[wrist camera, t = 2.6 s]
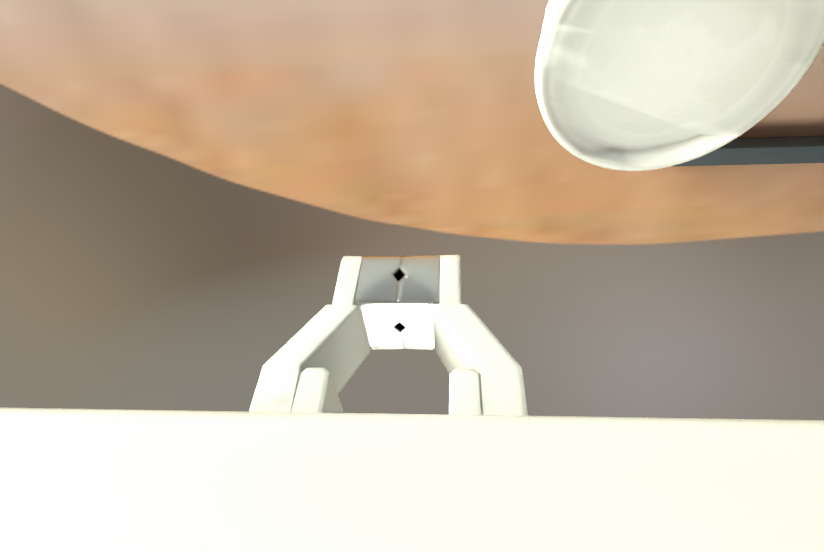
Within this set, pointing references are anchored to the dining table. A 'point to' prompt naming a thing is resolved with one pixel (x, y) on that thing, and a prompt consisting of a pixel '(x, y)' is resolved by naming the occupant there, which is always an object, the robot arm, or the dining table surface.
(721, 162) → the bay
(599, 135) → the ramekin
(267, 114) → the dining table surface
